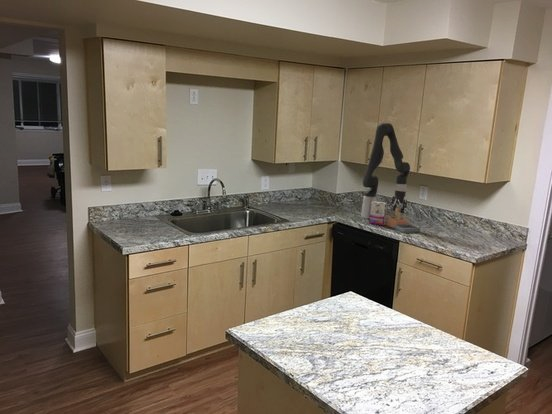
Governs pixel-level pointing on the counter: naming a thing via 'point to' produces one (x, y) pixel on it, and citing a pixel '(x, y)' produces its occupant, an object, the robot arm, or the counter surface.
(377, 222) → the candy bar box
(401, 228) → the slate tray
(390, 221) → the terracotta square open box
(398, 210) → the wooden dowel
